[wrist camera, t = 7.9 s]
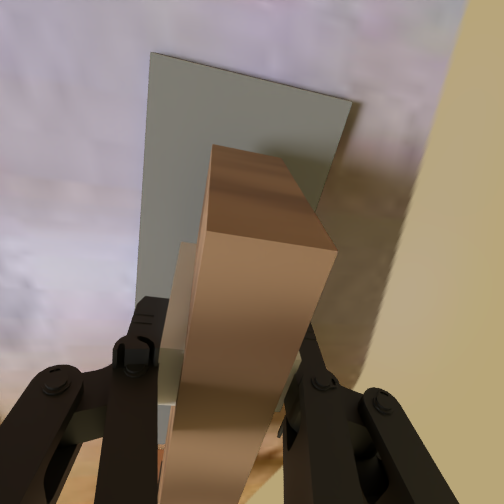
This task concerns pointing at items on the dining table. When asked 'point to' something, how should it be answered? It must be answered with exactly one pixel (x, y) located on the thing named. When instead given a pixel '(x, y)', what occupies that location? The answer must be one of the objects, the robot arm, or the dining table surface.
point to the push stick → (241, 323)
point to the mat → (199, 151)
